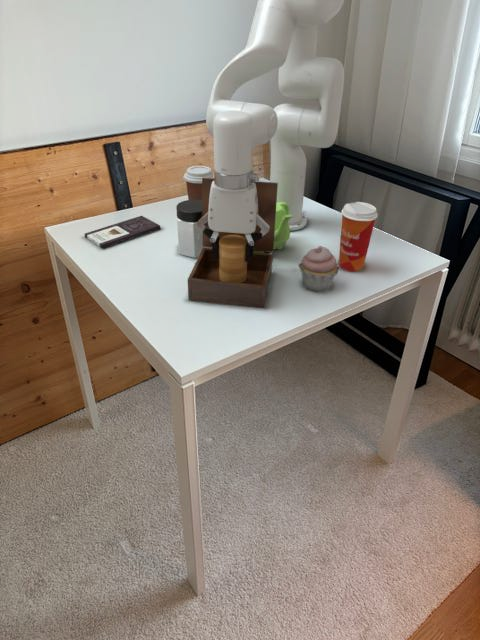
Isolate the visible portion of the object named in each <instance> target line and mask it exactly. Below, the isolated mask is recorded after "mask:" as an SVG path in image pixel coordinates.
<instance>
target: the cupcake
mask: <svg viewBox="0 0 480 640" xmlns="http://www.w3.org/2000/svg"><path fill="white" fill-rule="evenodd" d="M300 261H301V262H300V263H298V264H297V265H298V267H299V270H300V271H299V272H300V273H301V277H302V283H303V286H304V287H305V288H306V289H308V290H310V291H313V292H325V291H327V290H329V289H330V288H331V287H332V285H333V283H334V279H335V278H336V276H337V275H338V273H339V271H340V269H341V267H340V266H339V263H338V262H337V259H336V257H335V255H334V254H332V252H331V251H330V249H329V248H327V247H326V246H323V245H319V246H317V247H314V248H311V249H309V250H308V251H307V252H306V253H305V255H303V257H302V259H301V260H300Z"/></svg>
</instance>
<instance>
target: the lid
mask: <svg viewBox="0 0 480 640" xmlns="http://www.w3.org/2000/svg"><path fill="white" fill-rule="evenodd" d="M213 181H214V178H204V177H203V178H202V217H203V216H204V215H205V214H206V213H207V212H208V210H209V197H210V189H211V184H212V182H213ZM253 182H254V183H255V184H256V189H257V198H258V215H259V216H260V217H261V218H262V219H263V220H264V221H265V222H266V223H267V224H268V225H269V226H270V230H269V232H267V233H266V234H265V235H264V236H262V238H261V239H259V240H258V241H257V242H256V243H254V251H261V252H264V253H274V250H275V249H274V234H275V219H276V204H277V189H278V183H274V182H270V181H260V180H259V181H253ZM206 225H207V226H209V225H208V221H207V222H206ZM260 229H261V228H260V227H259V226H258V225H256V229H255V232H254V234H255V233H256V232H257V231H259V230H260ZM202 232H203V231H202ZM227 235H239V236H243V237H245V238H246V236H245V234H240V233H227V232H219V234H218V236H219V237H220V238H222V237H224V236H227ZM247 242H248V241H247ZM203 246H204V247H210V248H212V242H211V241H210V239H209V238H208V237H207V236H206V235H205V234H204V232H203Z"/></svg>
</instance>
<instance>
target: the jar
mask: <svg viewBox="0 0 480 640" xmlns="http://www.w3.org/2000/svg"><path fill="white" fill-rule="evenodd" d="M175 208H176V217H177V218H176V226H177V241H178V254H179V255H181V256H185V257H188V258H189V257H190V258H192V259H196V258H197V259H198V257H199V255H200V253H201V251H202V249H203V248H211V247H204V246H203V232H202V230H201V229H200V228H199V227H198V226H197V222H198V220H199V219H201V218H202V200H188V199H186V200H183V201H180V202H178V203H177V204H176V206H175Z"/></svg>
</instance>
